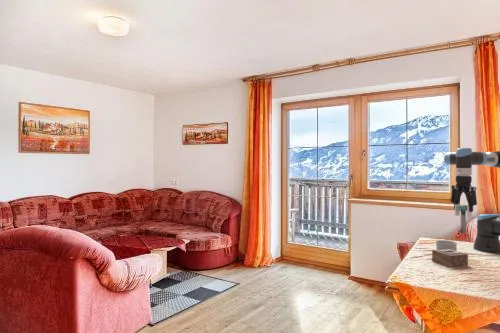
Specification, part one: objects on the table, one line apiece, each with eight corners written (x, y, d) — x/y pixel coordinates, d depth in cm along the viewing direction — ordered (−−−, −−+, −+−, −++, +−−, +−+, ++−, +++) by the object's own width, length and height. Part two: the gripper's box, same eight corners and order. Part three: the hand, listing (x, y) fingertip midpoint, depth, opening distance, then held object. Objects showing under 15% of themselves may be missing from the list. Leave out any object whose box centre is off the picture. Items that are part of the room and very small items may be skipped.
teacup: (459, 258, 198) (459, 244, 197) (439, 256, 200) (439, 243, 200) (450, 252, 211) (450, 239, 211) (431, 251, 213) (431, 238, 213)
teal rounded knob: (452, 232, 193) (453, 205, 193) (462, 231, 195) (462, 204, 195) (463, 234, 187) (464, 206, 186) (473, 233, 189) (473, 206, 188)
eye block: (448, 259, 195) (448, 248, 195) (467, 265, 183) (468, 253, 183) (432, 260, 191) (432, 249, 191) (450, 267, 180) (450, 255, 180)
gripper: (443, 175, 199) (443, 214, 199) (475, 176, 180) (474, 219, 180) (453, 174, 201) (453, 213, 201) (485, 176, 182) (485, 219, 182)
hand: (463, 216), depth 191 cm, fingers closed on teal rounded knob, 7 cm apart
